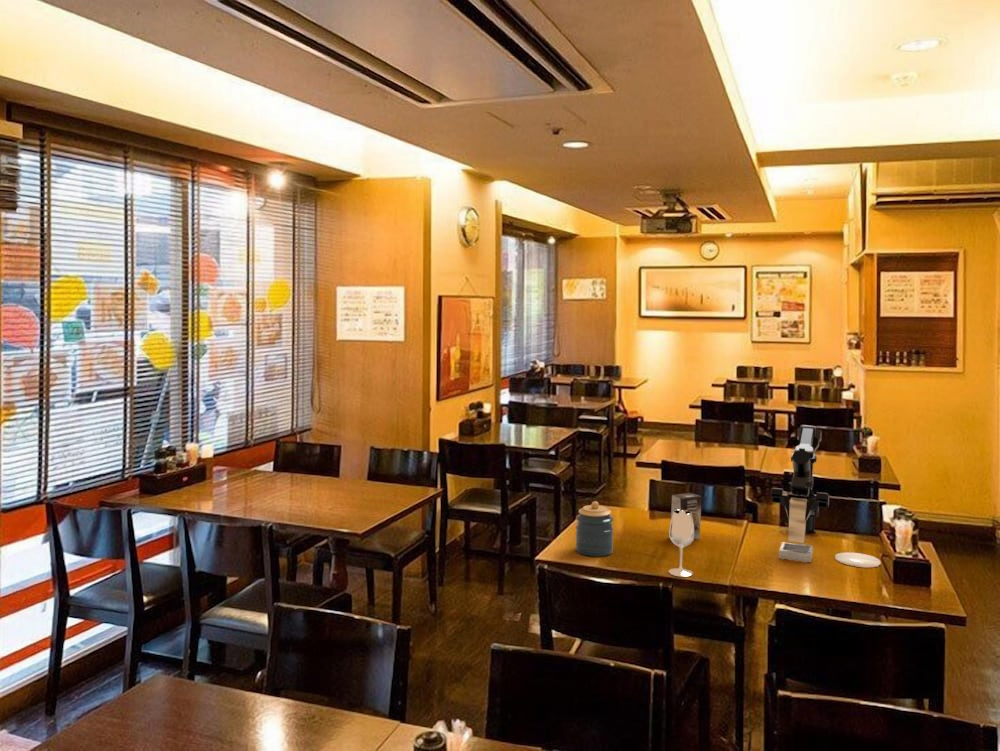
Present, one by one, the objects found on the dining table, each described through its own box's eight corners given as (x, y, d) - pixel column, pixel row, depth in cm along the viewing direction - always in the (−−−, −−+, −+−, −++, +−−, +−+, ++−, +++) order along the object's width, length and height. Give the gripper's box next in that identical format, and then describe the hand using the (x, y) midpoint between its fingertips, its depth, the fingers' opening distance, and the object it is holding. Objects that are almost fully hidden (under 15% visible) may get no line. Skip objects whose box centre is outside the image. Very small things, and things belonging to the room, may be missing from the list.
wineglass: (666, 575, 253) (667, 513, 251) (670, 567, 260) (672, 507, 258) (691, 578, 250) (692, 516, 248) (694, 570, 257) (696, 510, 255)
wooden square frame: (782, 550, 279) (782, 542, 278) (812, 554, 274) (812, 545, 274) (778, 558, 270) (779, 550, 269) (810, 563, 265) (810, 554, 265)
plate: (867, 553, 275) (867, 552, 275) (888, 567, 261) (888, 565, 261) (827, 554, 275) (827, 552, 275) (847, 567, 261) (847, 566, 261)
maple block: (789, 537, 275) (791, 497, 273) (805, 539, 273) (807, 499, 271) (788, 541, 270) (789, 500, 269) (803, 543, 268) (805, 502, 267)
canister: (620, 551, 277) (621, 501, 275) (598, 559, 268) (599, 508, 266) (590, 543, 286) (591, 495, 284) (567, 551, 276) (568, 501, 275)
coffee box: (681, 542, 287) (682, 498, 286) (669, 537, 293) (670, 494, 292) (700, 539, 292) (702, 495, 290) (689, 534, 297) (690, 491, 296)
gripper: (771, 464, 277) (766, 503, 268) (830, 470, 269) (826, 509, 260) (773, 482, 284) (768, 520, 276) (830, 487, 277) (827, 527, 268)
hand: (797, 519), depth 269 cm, fingers closed on maple block, 5 cm apart
